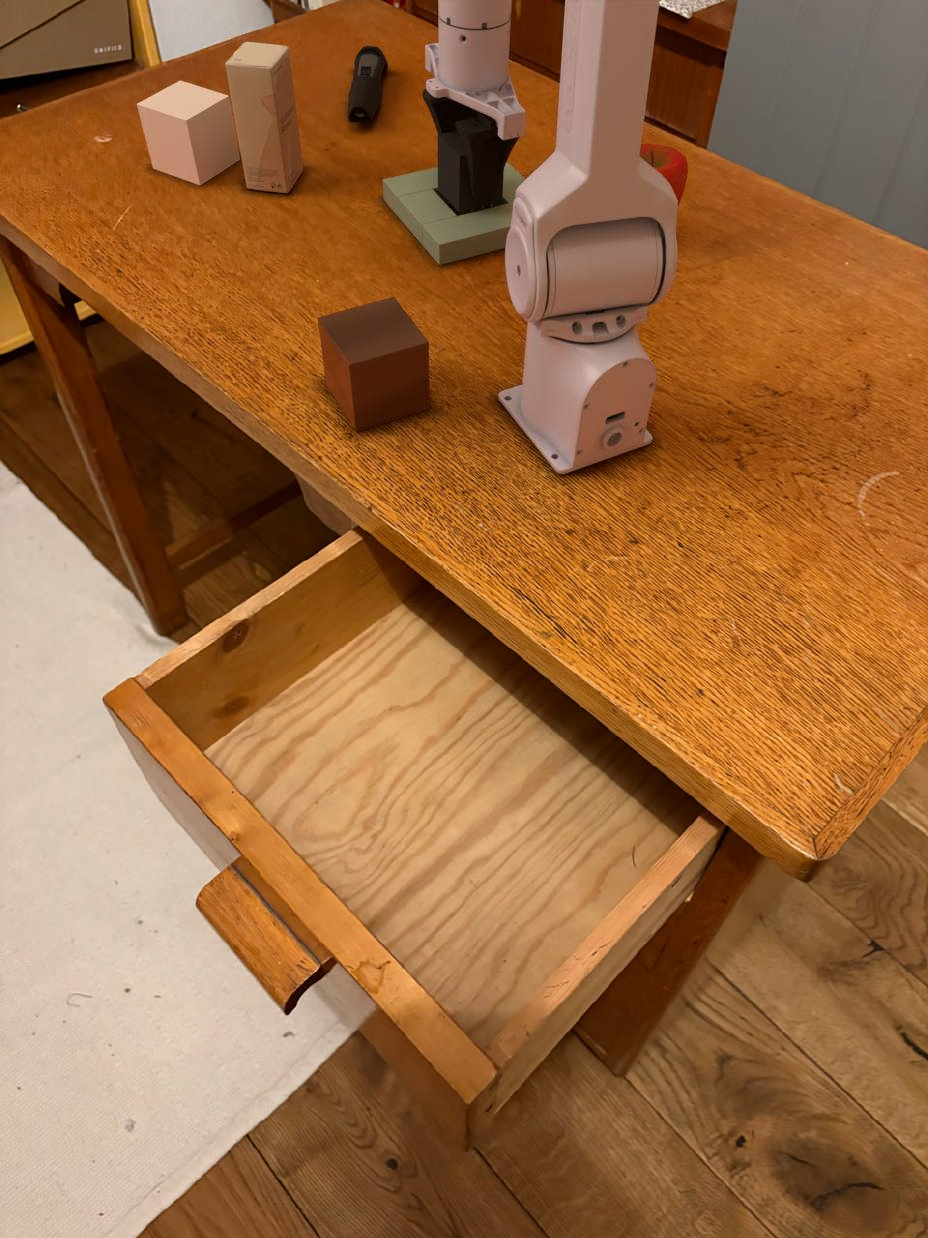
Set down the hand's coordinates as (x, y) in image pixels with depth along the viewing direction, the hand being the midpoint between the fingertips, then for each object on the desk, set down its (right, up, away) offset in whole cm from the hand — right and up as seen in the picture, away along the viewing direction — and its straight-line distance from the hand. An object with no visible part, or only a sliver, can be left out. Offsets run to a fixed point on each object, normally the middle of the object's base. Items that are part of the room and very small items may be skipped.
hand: (470, 186), depth 82 cm
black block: (0, -1, +1) cm, 1 cm away
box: (-19, +3, +6) cm, 20 cm away
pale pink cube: (-27, +6, +7) cm, 28 cm away
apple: (+15, -2, -3) cm, 16 cm away
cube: (-7, -22, -13) cm, 27 cm away
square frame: (0, -2, +2) cm, 3 cm away
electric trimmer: (-11, +17, +17) cm, 26 cm away
